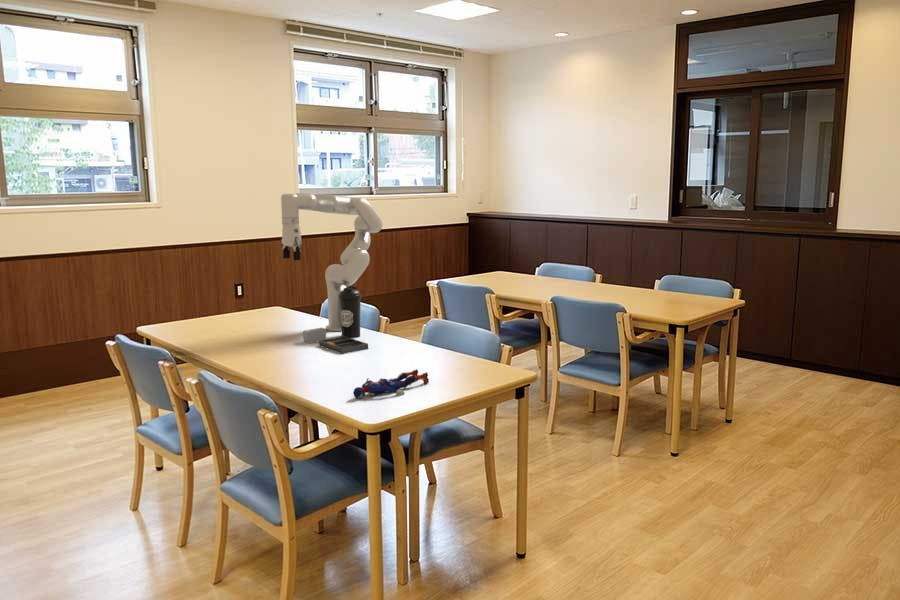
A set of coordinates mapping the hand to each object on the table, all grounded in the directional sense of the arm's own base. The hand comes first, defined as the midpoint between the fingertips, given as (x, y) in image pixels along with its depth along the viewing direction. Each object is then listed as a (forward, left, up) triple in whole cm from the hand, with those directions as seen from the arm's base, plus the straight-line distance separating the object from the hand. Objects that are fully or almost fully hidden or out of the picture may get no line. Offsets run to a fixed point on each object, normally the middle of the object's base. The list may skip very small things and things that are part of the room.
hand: (291, 259), depth 314 cm
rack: (-6, +32, -36) cm, 49 cm away
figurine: (+16, +95, -37) cm, 103 cm away
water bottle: (-20, +16, -36) cm, 45 cm away
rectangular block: (-2, +14, -36) cm, 39 cm away
